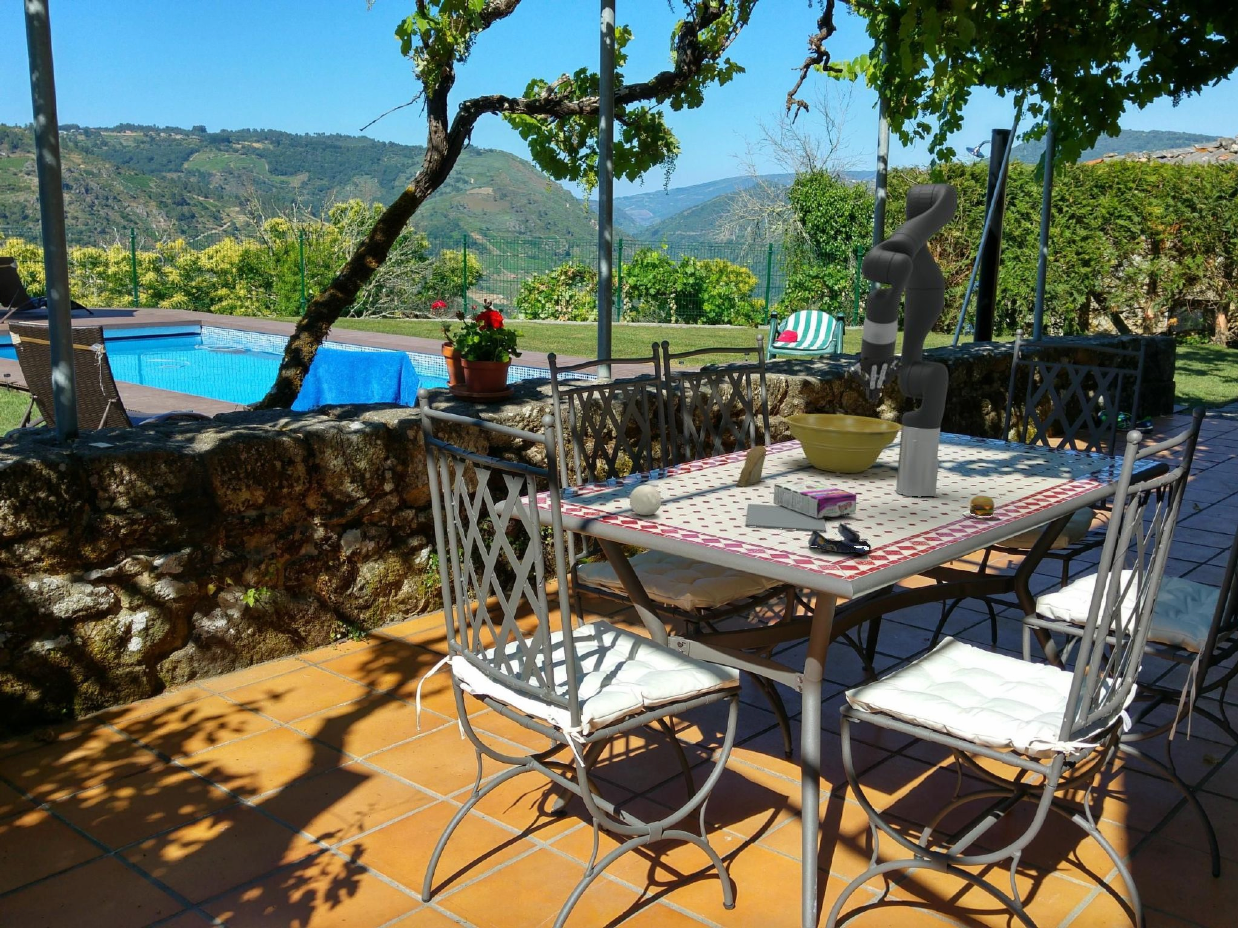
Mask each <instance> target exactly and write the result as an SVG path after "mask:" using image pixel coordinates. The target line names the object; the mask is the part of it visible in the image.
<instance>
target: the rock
mask: <svg viewBox="0 0 1238 928" xmlns="http://www.w3.org/2000/svg"><path fill="white" fill-rule="evenodd" d="M766 454H767V448H766V447H765V446H764V445H757V446H755V447H752V448H751V449H750V450H749V451H747V452H746V458H745V461H744V466H743V467H742V469H741V472H740V475H739V477H738V480H737V483H736V485H737V486H740V487H748V486H752V485H754V484H757V483H760V482H761V480H762V479H761V478H762V476H763V467H764V464H765V459H766Z"/></svg>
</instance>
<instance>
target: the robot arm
mask: <svg viewBox="0 0 1238 928" xmlns="http://www.w3.org/2000/svg"><path fill="white" fill-rule="evenodd" d="M958 201H959V200H958V193H957V190H956V187H954V186H953V185H952V184H949V183H926V184H924V183H923V184H921V183H920V184H913V185H911V186H910V188H909V189H908V191H907V195H906V200H905V222H903V223H902V224H901V225H899V226H898V227H897V228H896V229H895V230H894V231H893V233H891V235H890V236H889V238H888V239H887V240H884V241H882V242H880V243H879V244H877V245H875V246H874V247H872V248H871V249H870V250H869V251H868V252H867V253H866V255H865V256H864V258H863V261H862V262H861V273H862V276H863V277H864V278H865V279H866V280H867V281H869V282H872V283H876V284H877V283H878V284H883V285H888V286H891V287H890V288H889V287H888V288H876V289H874V290H872V291H870V292H869V293H868V296H867V300H866V308H865V309H866V310H865V316H864V317H865V318H864V321H863V322H864V323H863V327H862V335H861V337H862V338H861V344H860V345H861V347H860V356H859V358H858V360H857V363H856V364H854V365H853V366H852V365H850V366H848V371H849V372H850V374H851V375H852V377H854V378H855V379H856V380H857V381H858V383H859V384H860V385H861V386H862V387H863V388H864V389H866V391H865V396H866V398H867V400H868V401H869V402H877V401H878V399H879V398H880V395H881V389H882V386H884V385H886V386H887V385H889V384H890V383H891V382H892V381H893V379H894V378H895V377H896V376H897V375H898V385H899V391H900V392H901V394H902V395H903V396H905V397H908V398H915V399H921V400H922V402H921V405H920V407H919V408H917V409H915V410H911V411H908V412H905V413H904V414H903V415H902V421H901V426H902V429H901V430H900V443H899V452H898V454H899V455H898V465H897V476H896V485H895V486H896V487H895V489H896V491H895V492H896V493H897V494H899V495H901V494H903V495H902V496H907V497H912V496H918V497H917V498H922V497H921V496H935V497H936V496H937V495H936V494H937V483H938V473H939V464H940V463H939V462H940V459H939V458H938V455H939V454H938V453H939V444H940V434H941V425H942V420H943V417H944V413H945V408H946V399H947V395H948V394H947V393H948V387H949V371H948V367H946V365H945V364H943V363H940V362H935V361H925V360H923V348H924V344H925V341H926V339H927V337H928V334H929V333H930V331H931V330H932V328H933V327H934V325H935V324H936V323H937V321H938V319H939V317H941V316H940V315H941V314H942V312H943V310H944V307H945V294H946V293H945V292H946V288H945V287H946V280H945V276H944V274H943V272H942V270H941V268H940V266H939V265H938V262H937V261H936V259H935V258H934V256H933V255H932V253H931V251H930V248H929V247H928V244H927V242H928V240H930V239H931V238H932V237H933V236H934V235H936V234H937V233H939V232H940V231H941V230H942V229H943V228H944V227H945V226H947V225H948V224H949V223H951V221H952V220H953V219H954V217H955V215H956V212H957V209H958V204H959V203H958ZM903 292H904V293H903ZM903 294H904V320H903V336H902V337H903V339H902V347H901V348H902V349H901V355H900V360H899V359H896V357H895V353H896V352H895V351H896V343H897V337H898V336H897V335H898V327H899V326H898V325H899V324H898V323H899V322H898V320H899V319H898V318H899V309H900V304H901V299H902V296H903ZM861 369H862V370H863V371H864V373H865V377H866V378H864V377H863V376H862V375H861V373H862V370H861Z"/></svg>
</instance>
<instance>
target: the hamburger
mask: <svg viewBox="0 0 1238 928" xmlns="http://www.w3.org/2000/svg"><path fill="white" fill-rule="evenodd" d="M969 506H970V507H969V509H968V510H970V513H971V514H975V515H979V516H991V515H993V514H994V513H995V502H994V500H993V499H992V497H989V496H987V495H976V496H974V497H973V498H971V501H970V505H969ZM970 513H969V514H970Z"/></svg>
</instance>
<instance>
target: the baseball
mask: <svg viewBox="0 0 1238 928" xmlns="http://www.w3.org/2000/svg"><path fill="white" fill-rule="evenodd" d="M629 505H630V507H631V509H632V510H633V512H634V513H636V514H637V515H639V514H640V516H643V515H648V516H652V515H654V514H656V513H657V512H658V511H659V510H660V508H661V505H662V496H661V493H660V492H659V491H658V489H657V488H656V487H654V486H652V485H648V484H644V485H643V484H642V485H638V486H637V487H635V488H634V489H633V490H632V492H631V493H630V496H629Z"/></svg>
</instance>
